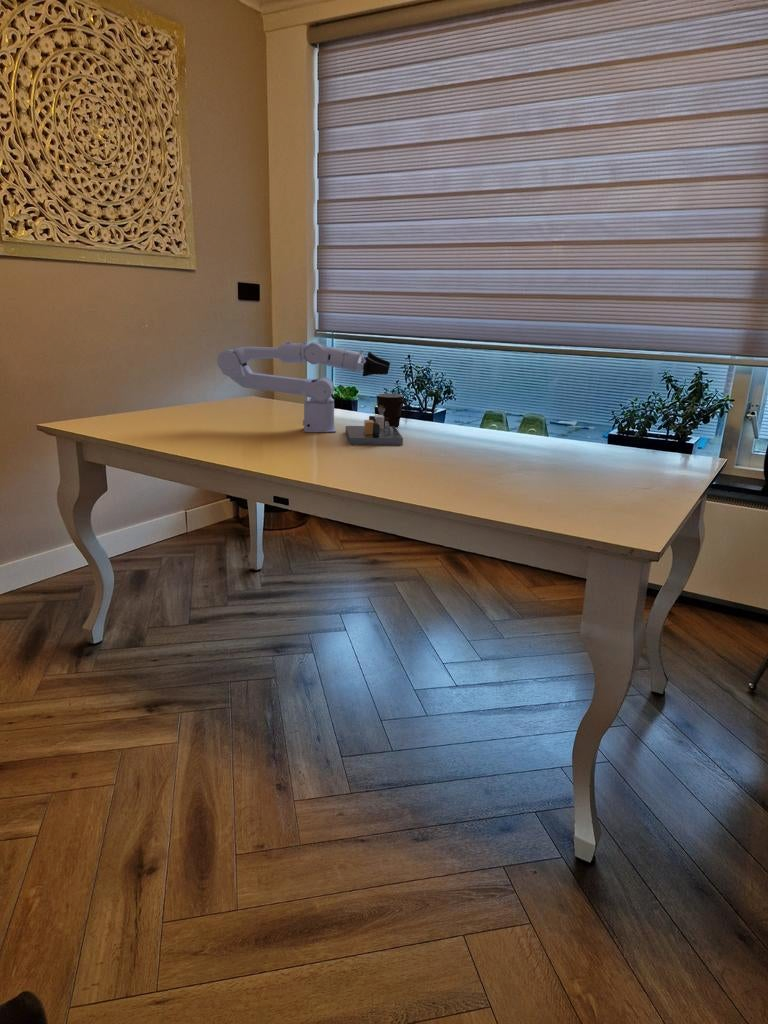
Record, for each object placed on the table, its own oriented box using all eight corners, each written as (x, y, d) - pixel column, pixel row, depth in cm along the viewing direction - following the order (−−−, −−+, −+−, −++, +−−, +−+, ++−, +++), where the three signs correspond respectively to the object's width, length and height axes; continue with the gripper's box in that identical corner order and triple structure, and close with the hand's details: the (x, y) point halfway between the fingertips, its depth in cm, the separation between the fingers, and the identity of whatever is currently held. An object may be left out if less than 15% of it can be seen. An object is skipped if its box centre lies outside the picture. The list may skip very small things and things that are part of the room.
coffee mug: (372, 424, 217) (373, 393, 213) (397, 423, 219) (398, 393, 216) (383, 431, 206) (384, 398, 203) (409, 430, 209) (410, 398, 205)
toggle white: (375, 428, 198) (376, 417, 197) (374, 426, 202) (374, 414, 201) (383, 428, 199) (384, 417, 198) (382, 426, 202) (382, 414, 201)
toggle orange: (365, 434, 189) (365, 422, 188) (364, 431, 193) (364, 419, 192) (373, 434, 190) (374, 422, 189) (372, 431, 193) (372, 420, 192)
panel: (349, 444, 185) (350, 423, 183) (345, 432, 202) (345, 412, 200) (402, 445, 187) (403, 424, 185) (394, 432, 204) (394, 413, 202)
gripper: (343, 349, 189) (390, 358, 189) (348, 342, 203) (392, 351, 203) (339, 373, 192) (385, 383, 192) (345, 365, 205) (388, 373, 206)
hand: (389, 368), depth 198 cm, fingers open, 7 cm apart
